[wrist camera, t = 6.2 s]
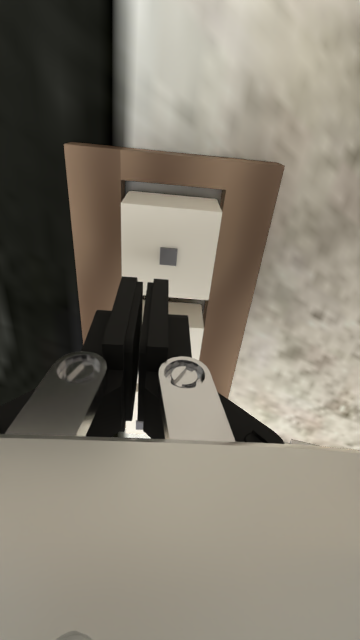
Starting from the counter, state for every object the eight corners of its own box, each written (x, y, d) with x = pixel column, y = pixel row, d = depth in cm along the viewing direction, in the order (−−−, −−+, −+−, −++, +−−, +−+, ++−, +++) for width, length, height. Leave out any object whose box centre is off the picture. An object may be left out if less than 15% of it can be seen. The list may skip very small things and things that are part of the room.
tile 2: (201, 304, 22) (204, 330, 19) (193, 359, 25) (194, 389, 22) (129, 298, 22) (121, 324, 19) (129, 354, 24) (122, 384, 22)
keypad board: (277, 162, 19) (284, 166, 17) (217, 420, 31) (219, 433, 30) (71, 142, 18) (63, 143, 17) (95, 413, 30) (91, 426, 29)
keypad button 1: (216, 198, 18) (222, 213, 15) (205, 277, 21) (208, 302, 18) (129, 190, 18) (120, 204, 15) (129, 271, 21) (121, 295, 18)
